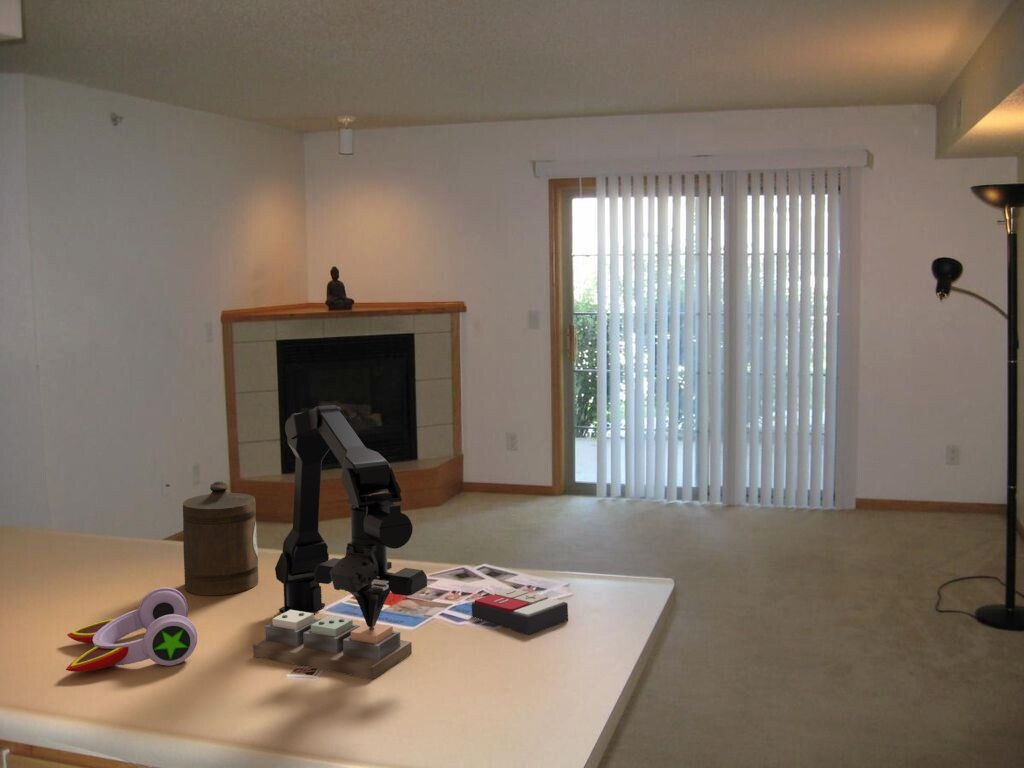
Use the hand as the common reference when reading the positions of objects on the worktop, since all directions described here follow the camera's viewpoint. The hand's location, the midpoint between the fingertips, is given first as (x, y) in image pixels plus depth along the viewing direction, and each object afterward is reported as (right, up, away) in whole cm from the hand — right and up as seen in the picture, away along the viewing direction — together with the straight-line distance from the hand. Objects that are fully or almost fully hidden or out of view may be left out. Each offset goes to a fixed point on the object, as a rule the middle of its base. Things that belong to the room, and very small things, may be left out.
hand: (371, 626), depth 166 cm
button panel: (-7, -6, +4) cm, 10 cm away
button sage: (-7, -2, +4) cm, 8 cm away
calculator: (+25, -4, +21) cm, 33 cm away
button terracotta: (0, -2, 0) cm, 2 cm away
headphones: (-42, -6, +6) cm, 43 cm away
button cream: (-14, -2, +7) cm, 16 cm away
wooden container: (-37, -2, +43) cm, 57 cm away
